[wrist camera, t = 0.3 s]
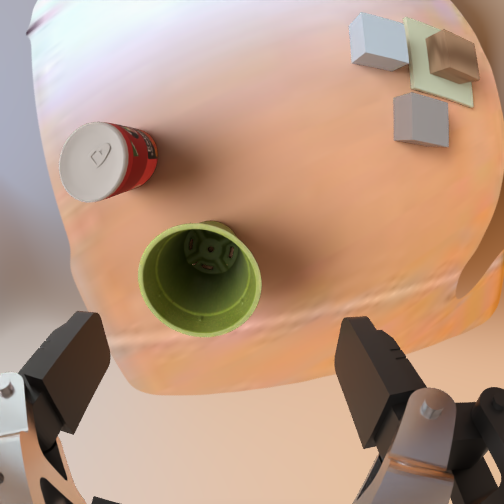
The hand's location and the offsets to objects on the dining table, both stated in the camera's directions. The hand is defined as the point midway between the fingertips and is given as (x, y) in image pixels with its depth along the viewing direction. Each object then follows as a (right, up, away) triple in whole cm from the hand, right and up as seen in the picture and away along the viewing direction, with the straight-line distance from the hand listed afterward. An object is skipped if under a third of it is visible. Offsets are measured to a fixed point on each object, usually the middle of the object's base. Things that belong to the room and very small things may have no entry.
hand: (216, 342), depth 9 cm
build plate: (+29, +31, +20) cm, 47 cm away
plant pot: (-4, +3, +29) cm, 29 cm away
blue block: (+17, +30, +20) cm, 40 cm away
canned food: (-14, +15, +25) cm, 32 cm away
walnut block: (+29, +31, +19) cm, 46 cm away
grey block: (+23, +20, +24) cm, 39 cm away
